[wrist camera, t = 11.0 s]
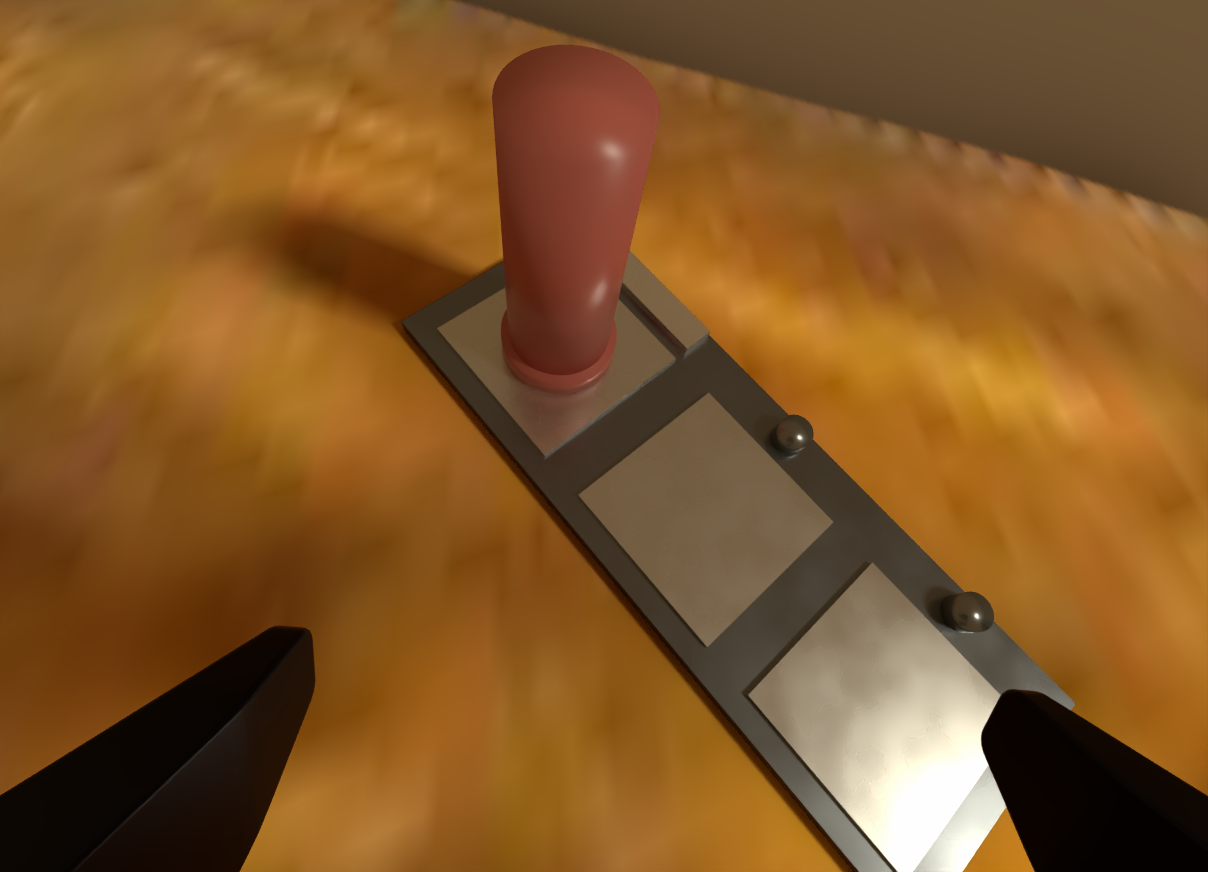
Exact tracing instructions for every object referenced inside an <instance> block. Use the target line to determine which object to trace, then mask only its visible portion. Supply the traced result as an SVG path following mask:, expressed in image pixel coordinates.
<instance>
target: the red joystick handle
mask: <svg viewBox="0 0 1208 872" xmlns="http://www.w3.org/2000/svg"><path fill="white" fill-rule="evenodd" d="M492 101H493V116H494V130H495V145H496V159H497V174H498V188H499V203H500V217H501V232H502V246H503V261H504V275H505V290H506V304H507V309H506V311H505V313H504V315H503V318H502V322H501V341H502V351H503V355H504V358H505V361H506V363H507V365H508V367H509V368H510V370H511V371H512V372H513V374H514V375H515V376H516V377H517V378H518V379H519V380H521V381H522V382H523V383H525V384H526V385H528V386H530V387H532V388H534V389H537V390H539V391H543V392H546V393H553V394H567V393H573V392H577V391H580V390H583V389H585V388H587V387H589V386H591V385H592V384H594V383H595V382H597V381H598V380H599V379H600V378H601V377H602V376H603V375H604V374H605V372H606V371H607V369H608V368H609V365H610V363H611V360H612V357H613V353H614V349H615V345H616V339H617V330H616V324H615V321H614V316H615V311H616V307H617V303H618V298H619V294H620V289H621V285H622V281H623V276H624V272H625V268H626V263H627V259H628V254H629V250H630V246H631V241H632V237H633V232H634V228H635V224H636V219H637V215H638V211H639V206H640V202H641V197H642V193H643V189H644V184H645V180H646V176H647V171H648V167H649V162H650V158H651V154H652V149H653V145H654V140H655V136H656V132H657V127H658V123H659V117H660V108H659V102H658V98H657V96H656V93H655V91H654V89H653V87H652V86H651V84H650V83H649V81H648V80H647V79H646V78H645V77H644V76H643V75H642V74H641V73H640V72H639V71H638V70H637V69H636V68H634V67H633V66H632V65H630V64H629V63H627V62H626V61H624V60H622V59H621V58H619V57H616V56H614V55H612V54H610V53H607V52H604V51H601V50H598V49H594V48H590V47H584V46H576V45H555V46H547V47H542V48H538V49H534V50H531V51H529V52H526V53H524V54H522V55H520V56H518V57H517V58H515V59H514V60H512V61H511V62H510V63H508V64H507V65H506V66H505V67H504V68H503V70H502V71H501V72H500V74H499V75H498V77H497V79H496V81H495V84H494V88H493V95H492Z"/></svg>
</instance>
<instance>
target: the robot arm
mask: <svg viewBox="0 0 1208 872" xmlns="http://www.w3.org/2000/svg"><path fill="white" fill-rule="evenodd" d="M314 687H315V668H314V653H313V639H312V634H311V632H310V631H309V630H308V629H306V628H302V627H290V626H274V627H271V628H269V629H267V630H265V631H264V632H262V633H261V634H259V635H257V636H256V637H254V638H253V639H251V640H249V641H248V642H246V643H245V644H243V645H241V646H240V647H238V648H237V649H235V650H233V651H232V652H230V653H229V654H227V655H225V656H224V657H222V658H220V659H219V660H217V661H216V662H214V663H212V664H211V665H209V666H208V667H206V668H204V669H203V670H201V671H200V672H198V673H196V674H195V675H193V676H192V677H190V678H188V679H187V680H185V681H183V682H182V683H180V684H179V685H177V686H175V687H174V688H172V689H171V690H169V691H167V692H166V693H164V694H163V695H161V696H159V697H158V698H156V699H155V700H153V701H151V702H150V703H148V704H146V705H145V706H143V707H142V708H140V709H138V710H137V711H135V712H134V713H132V714H130V715H129V716H127V717H126V718H124V719H122V720H121V721H119V722H118V723H116V724H114V725H113V726H111V727H109V728H108V729H106V730H105V731H103V732H101V733H100V734H98V735H97V736H95V737H93V738H92V739H90V740H89V741H87V742H85V743H84V744H82V745H81V746H79V747H77V748H76V749H74V750H73V751H71V752H69V753H68V754H66V755H64V756H63V757H61V758H60V759H58V760H56V761H55V762H53V763H52V764H50V765H48V766H47V767H45V768H44V769H42V770H40V771H39V772H37V773H36V774H34V775H32V776H31V777H29V778H27V779H26V780H24V781H23V782H21V783H19V784H18V785H16V786H15V787H13V788H11V789H10V790H8V791H7V792H5V793H3V794H2V795H0V872H240V870H241V868H242V866H243V864H244V862H245V860H246V858H247V856H248V854H249V852H250V850H251V847H252V845H253V843H254V841H255V839H256V837H257V835H258V833H259V831H260V828H261V826H262V823H263V821H264V818H265V816H266V814H267V811H268V809H269V806H270V804H271V801H272V799H273V796H274V794H275V791H276V788H277V786H278V783H279V781H280V778H281V776H282V773H283V771H284V768H285V765H286V763H287V760H288V758H289V755H290V753H291V750H292V748H293V745H294V743H295V740H296V737H297V735H298V732H299V730H300V727H301V725H302V722H303V720H304V717H305V714H306V712H307V709H308V707H309V704H310V702H311V699H312V696H313V692H314ZM981 747H982V751H983V754H984V756H985V759H986V761H987V763H988V765H989V768H990V770H991V772H992V775H993V777H994V779H995V782H996V784H997V786H998V789H999V791H1000V793H1001V796H1002V798H1003V800H1004V803H1005V805H1006V807H1007V810H1008V812H1009V814H1010V817H1011V819H1012V821H1013V823H1014V826H1015V828H1016V830H1017V833H1018V835H1019V837H1020V840H1021V842H1022V844H1023V847H1024V849H1025V851H1026V854H1027V856H1028V858H1029V860H1030V863H1031V865H1032V867H1033V869H1034V871H1035V872H1208V796H1207V795H1205V794H1204V793H1202V792H1200V791H1199V790H1197V789H1196V788H1194V787H1192V786H1191V785H1189V784H1188V783H1186V782H1184V781H1183V780H1181V779H1180V778H1178V777H1176V776H1175V775H1173V774H1172V773H1170V772H1168V771H1167V770H1165V769H1164V768H1162V767H1160V766H1159V765H1157V764H1156V763H1154V762H1152V761H1151V760H1149V759H1148V758H1146V757H1144V756H1143V755H1141V754H1140V753H1138V752H1136V751H1135V750H1133V749H1132V748H1130V747H1128V746H1127V745H1125V744H1124V743H1122V742H1120V741H1119V740H1117V739H1116V738H1114V737H1112V736H1111V735H1109V734H1108V733H1106V732H1104V731H1103V730H1101V729H1100V728H1098V727H1096V726H1095V725H1093V724H1092V723H1090V722H1088V721H1087V720H1085V719H1084V718H1082V717H1080V716H1079V715H1077V714H1076V713H1074V712H1072V711H1071V710H1069V709H1068V708H1066V707H1064V706H1063V705H1061V704H1060V703H1058V702H1056V701H1055V700H1053V699H1052V698H1050V697H1048V696H1047V695H1045V694H1043V693H1040V692H1037V691H1031V690H1019V689H1009V690H1006V691H1005V692H1003V693H1002V694H1001V696H1000V697H999V699H998V701H997V703H996V705H995V707H994V709H993V710H992V712H991V714H990V716H989V718H988V720H987V722H986V724H985V726H984V728H983V730H982V732H981Z"/></svg>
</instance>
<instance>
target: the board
mask: <svg viewBox="0 0 1208 872" xmlns="http://www.w3.org/2000/svg"><path fill="white" fill-rule="evenodd" d="M506 309H507V304H506V290H505V275H504V262H502V263H501V264H499V265H497V266H495V267H494V268H492V269H490V270H489V271H487V272H485V273H483V274H482V275H480V276H478V277H477V278H475V279H473V280H471V281H470V282H468V283H466V284H464V285H463V286H461V287H459V288H458V289H456V290H454V291H452V292H451V293H449V294H447V295H446V296H444V297H442V298H440V299H439V300H437V301H435V302H433V303H432V304H430V305H428V306H427V307H425V308H423V309H421V310H420V311H418V312H416V313H415V314H413V315H411V316H409V317H408V318H406V319H404V320H402V321H401V322H402V325H403V327H404V330H405V331H406V332H407V333H408V334H409V336H410V337H411V338H412V339H413V341H414V342H415V343H416V344H417V345H418V347H419V348H420V349H421V350H422V351H423V353H424V354H425V355H426V356H427V357H428V359H429V360H430V361H431V362H432V363H433V365H434V366H435V367H436V368H437V369H438V371H439V372H440V373H441V374H442V375H443V377H444V378H445V379H446V380H447V381H448V383H449V384H450V385H451V386H452V388H453V389H454V390H455V391H456V392H457V394H458V395H459V396H460V397H461V398H462V400H463V401H464V402H465V403H466V404H467V406H468V407H469V408H470V409H471V410H472V412H473V413H474V414H475V415H476V416H477V418H478V419H479V420H480V421H481V422H482V424H483V425H484V426H485V427H486V428H487V430H488V431H489V432H490V433H491V435H492V436H493V437H494V438H495V439H496V441H497V442H498V443H499V444H500V445H501V447H502V448H503V449H504V450H505V451H506V453H507V454H508V455H509V456H510V457H511V459H512V460H513V461H514V462H515V463H516V465H517V466H518V467H519V468H520V469H521V471H522V472H523V473H524V474H525V475H526V477H527V478H528V479H529V480H530V482H531V483H532V484H533V485H534V486H535V488H536V489H537V490H538V491H539V492H540V494H541V495H542V496H543V497H544V498H545V500H546V501H547V502H548V503H549V504H550V506H551V507H552V508H553V509H554V510H555V512H556V513H557V514H558V515H559V516H560V518H561V519H562V520H563V521H564V522H565V524H566V525H567V526H568V527H569V529H570V530H571V531H572V532H573V533H574V535H575V536H576V537H577V538H578V539H579V541H580V542H581V543H582V544H583V545H584V547H585V548H586V549H587V550H588V551H589V553H590V554H591V555H592V556H593V557H594V559H595V560H596V561H597V562H598V563H599V565H600V566H601V567H602V568H603V569H604V571H605V572H606V573H607V574H608V576H609V577H610V578H611V579H612V580H613V582H614V583H615V584H616V585H617V586H618V588H619V589H620V590H621V591H622V592H623V594H624V595H625V596H626V597H627V598H628V600H629V601H630V602H631V603H632V604H633V606H634V607H635V608H636V609H637V610H638V612H639V613H640V614H641V615H642V616H643V618H644V619H645V620H646V621H647V623H648V624H649V625H650V626H651V627H652V629H653V630H654V631H655V632H656V633H657V635H658V636H659V637H660V638H661V639H662V641H663V642H664V643H665V644H666V645H667V647H668V648H669V649H670V650H671V651H672V653H673V654H674V655H675V656H676V657H677V659H678V660H679V661H680V662H681V663H682V665H683V666H684V667H685V668H686V670H687V671H688V672H689V673H690V674H691V676H692V677H693V678H694V679H695V680H696V682H697V683H698V684H699V685H700V686H701V688H702V689H703V690H704V691H705V692H706V694H707V695H708V696H709V697H710V698H711V700H712V701H713V702H714V703H715V704H716V706H717V707H718V708H719V709H720V710H721V712H722V713H723V714H724V715H725V717H726V718H727V719H728V720H729V721H730V723H731V724H732V725H733V726H734V727H735V729H736V730H737V731H738V732H739V733H740V735H741V736H742V737H743V738H744V739H745V741H746V742H747V743H748V744H749V745H750V747H751V748H752V749H753V750H754V751H755V753H756V754H757V755H758V756H759V757H760V759H761V760H762V761H763V762H764V764H765V765H766V766H767V767H768V768H769V770H770V771H771V772H772V773H773V774H774V776H775V777H776V778H777V779H778V780H779V782H780V783H781V784H782V785H783V786H784V788H785V789H786V790H787V791H788V792H789V794H790V795H791V796H792V797H793V798H794V800H795V801H796V802H797V803H798V805H799V806H800V807H801V808H802V809H803V811H804V812H805V813H806V814H807V815H808V817H809V818H810V819H811V820H812V821H813V823H814V824H815V825H816V826H817V827H818V829H819V830H820V831H821V832H822V833H823V835H824V836H825V837H826V838H827V839H828V841H829V842H830V843H831V844H832V845H833V847H834V848H835V849H836V850H837V852H838V853H839V854H840V855H841V856H842V858H843V859H844V860H845V861H846V862H847V864H848V865H849V866H850V867H851V868H852V870H853V871H854V872H962V871H963V870H964V868H965V867H966V865H967V864H968V862H969V861H970V860H971V858H972V857H973V855H974V854H975V852H976V851H977V849H978V848H979V846H980V845H981V843H982V842H983V840H984V839H985V837H986V836H987V834H988V833H989V831H990V830H991V828H992V827H993V825H994V824H995V822H996V821H997V819H998V818H999V816H1000V815H1001V813H1002V812H1003V811H1004V809H1005V808H1006V805H1005V803H1004V800H1003V798H1002V796H1001V793H1000V791H999V789H998V786H997V784H996V782H995V779H994V777H993V775H992V772H991V770H990V768H989V765H988V763H987V761H986V759H985V756H984V754H983V751H982V747H981V732H982V730H983V728H984V726H985V724H986V722H987V720H988V718H989V716H990V714H991V712H992V710H993V709H994V707H995V705H996V703H997V701H998V699H999V697H1000V696H1001V694H1002V693H1003V692H1005V691H1006V690H1009V689H1019V690H1031V691H1037V692H1040V693H1043V694H1045V695H1047V696H1048V697H1050V698H1052V699H1053V700H1055V701H1056V702H1058V703H1060V704H1061V705H1063V706H1064V707H1066V708H1068V709H1069V710H1071V709H1072V708H1073V707H1074V705H1075V703H1074V702H1073V701H1072V700H1071V699H1070V698H1069V697H1068V696H1067V695H1066V694H1065V693H1064V692H1063V691H1062V690H1061V689H1060V688H1059V687H1058V685H1057V684H1056V683H1055V682H1054V681H1053V680H1052V679H1051V678H1050V677H1049V676H1048V675H1047V674H1046V673H1045V672H1044V671H1043V670H1042V669H1041V668H1040V667H1039V666H1038V665H1037V664H1036V663H1035V662H1034V661H1033V660H1032V659H1031V658H1030V657H1029V656H1028V655H1027V654H1026V653H1025V652H1024V651H1023V650H1022V649H1021V648H1020V647H1019V646H1018V645H1017V644H1016V643H1015V642H1014V641H1013V640H1012V639H1011V638H1010V637H1009V636H1008V635H1007V634H1006V633H1005V632H1004V631H1003V630H1002V629H1001V628H1000V627H999V626H998V625H997V624H996V623H995V622H994V613H993V609H992V607H991V605H990V603H989V602H988V601H987V600H986V598H984V597H983V596H982V595H980V594H978V593H976V592H964V591H963V590H962V589H961V588H960V587H959V586H958V585H957V584H956V583H955V582H954V581H953V580H952V579H951V578H950V577H949V576H948V575H947V574H946V573H945V572H944V571H943V570H942V569H941V568H940V567H939V566H938V565H937V564H936V563H935V562H934V561H933V560H932V559H931V558H930V557H929V556H928V555H927V554H926V553H925V552H924V551H923V550H922V549H921V548H920V547H919V546H918V545H917V544H916V543H915V542H914V541H913V540H912V539H911V538H910V537H909V536H908V535H907V534H906V533H905V532H904V531H903V530H902V529H901V528H900V527H899V526H898V525H897V524H896V523H895V522H894V521H893V520H892V519H891V518H890V517H889V516H888V515H887V514H886V513H885V512H884V511H883V510H882V509H881V508H880V507H879V506H878V505H877V504H876V502H875V501H874V500H873V499H872V498H871V497H870V496H869V495H868V494H867V493H866V492H865V491H864V490H863V489H862V488H861V487H860V486H859V485H858V484H857V483H856V482H855V481H854V480H853V479H852V478H851V477H850V476H849V475H848V474H847V473H846V472H845V471H844V470H843V469H842V468H841V467H840V466H839V465H838V464H837V463H836V462H835V461H834V460H833V459H832V458H831V457H830V456H829V455H828V454H827V453H826V452H825V451H824V450H823V449H822V448H821V447H820V446H819V445H818V444H817V443H816V442H815V441H814V440H813V428H812V426H811V424H810V423H809V422H808V421H807V420H806V419H805V418H803V417H801V416H799V415H788V414H787V413H786V412H785V411H784V410H783V409H782V408H781V407H780V406H779V405H778V404H777V403H776V402H775V401H774V400H773V399H772V398H771V397H770V396H769V395H768V394H767V393H766V392H765V391H764V390H763V389H762V388H761V387H760V386H759V385H758V384H757V383H756V382H755V381H754V380H753V379H752V378H751V377H750V376H749V375H748V374H747V373H746V372H745V371H744V370H743V369H742V368H741V367H740V366H739V365H738V364H737V363H736V362H735V361H734V360H733V359H732V358H731V357H730V356H729V355H728V354H727V353H726V352H725V351H724V350H723V349H722V348H721V347H720V346H719V345H718V344H717V343H716V342H715V341H714V340H713V339H712V338H711V337H710V336H709V333H710V331H709V330H708V329H707V328H706V327H705V326H704V325H703V324H702V323H701V322H700V321H699V320H698V319H697V318H696V317H695V316H694V315H693V314H692V313H691V312H690V311H689V310H688V309H687V308H686V307H685V306H684V305H683V304H682V303H681V302H680V301H679V300H678V299H677V298H676V297H675V296H674V295H673V294H672V293H671V292H670V291H669V290H668V289H667V288H666V287H665V286H664V285H663V284H662V283H661V282H660V281H659V280H658V279H657V278H656V277H655V276H654V275H653V274H652V273H651V272H650V271H649V270H648V269H647V268H646V267H645V266H644V265H643V264H642V263H641V262H640V261H639V260H638V259H637V258H636V257H635V256H634V255H633V254H632V253H631V252H630V251H629V254H628V259H627V263H626V268H625V272H624V276H623V281H622V285H621V289H620V294H619V298H618V303H617V307H616V311H615V316H614V321H615V324H616V330H617V339H616V345H615V349H614V353H613V357H612V360H611V363H610V365H609V368H608V369H607V371H606V372H605V374H604V375H603V376H602V377H601V378H600V379H599V380H598V381H597V382H595V383H594V384H592V385H591V386H589V387H587V388H585V389H583V390H580V391H577V392H573V393H567V394H553V393H546V392H543V391H539V390H537V389H534V388H532V387H530V386H528V385H526V384H525V383H523V382H522V381H521V380H519V379H518V378H517V377H516V376H515V375H514V374H513V372H512V371H511V370H510V368H509V367H508V365H507V363H506V361H505V358H504V355H503V351H502V341H501V322H502V318H503V315H504V313H505V311H506Z"/></svg>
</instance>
